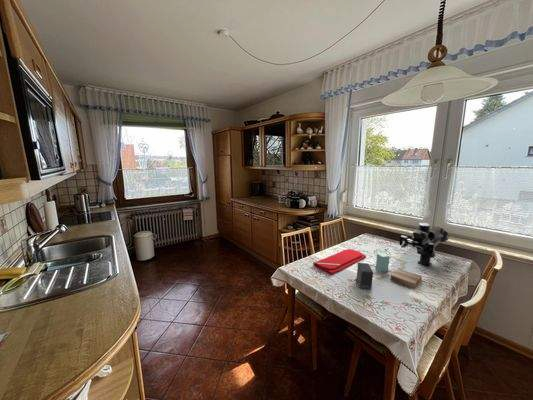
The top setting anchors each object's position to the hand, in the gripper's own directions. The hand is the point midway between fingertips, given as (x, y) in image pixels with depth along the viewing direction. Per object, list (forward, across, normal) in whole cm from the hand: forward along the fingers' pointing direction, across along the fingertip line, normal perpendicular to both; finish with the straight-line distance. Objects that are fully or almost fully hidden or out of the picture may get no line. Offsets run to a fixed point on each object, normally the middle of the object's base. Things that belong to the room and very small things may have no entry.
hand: (409, 249), depth 133 cm
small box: (+32, -10, +13) cm, 36 cm away
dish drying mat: (+20, -35, +15) cm, 43 cm away
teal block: (+8, -12, +16) cm, 22 cm away
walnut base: (+10, +3, +16) cm, 19 cm away
